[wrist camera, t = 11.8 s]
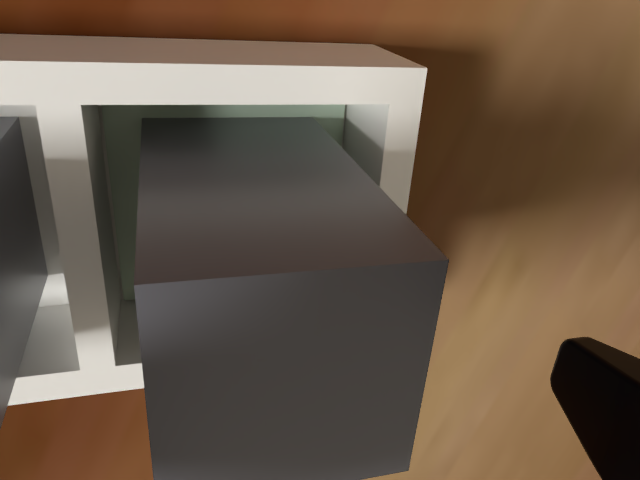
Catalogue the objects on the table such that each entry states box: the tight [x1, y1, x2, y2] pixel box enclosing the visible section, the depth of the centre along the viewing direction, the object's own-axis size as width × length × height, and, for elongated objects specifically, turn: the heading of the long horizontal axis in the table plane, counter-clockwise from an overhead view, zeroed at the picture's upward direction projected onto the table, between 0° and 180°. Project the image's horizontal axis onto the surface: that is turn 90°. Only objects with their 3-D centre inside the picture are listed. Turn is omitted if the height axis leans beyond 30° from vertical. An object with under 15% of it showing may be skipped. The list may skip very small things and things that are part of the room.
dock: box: [0, 34, 427, 405], centre depth 14 cm, size 8×15×4 cm, turn 86°
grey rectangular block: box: [134, 117, 449, 480], centre depth 12 cm, size 4×4×8 cm
